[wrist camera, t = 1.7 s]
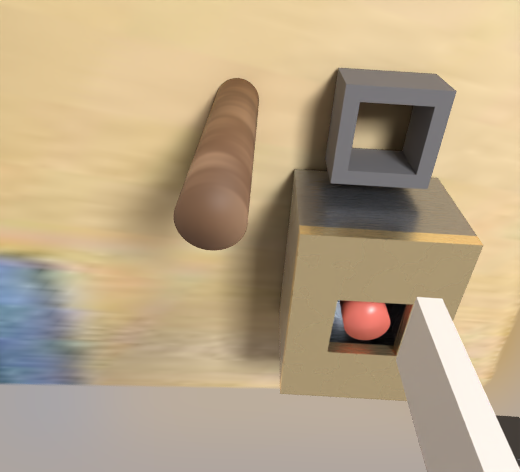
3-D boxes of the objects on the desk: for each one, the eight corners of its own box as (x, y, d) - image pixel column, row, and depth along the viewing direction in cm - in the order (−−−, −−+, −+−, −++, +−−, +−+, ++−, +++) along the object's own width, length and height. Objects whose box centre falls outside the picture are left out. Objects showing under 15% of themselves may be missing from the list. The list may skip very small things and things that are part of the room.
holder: (325, 158, 34) (330, 183, 30) (338, 67, 30) (346, 84, 27) (412, 164, 34) (427, 189, 31) (436, 74, 30) (456, 91, 27)
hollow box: (279, 313, 43) (280, 393, 35) (294, 169, 34) (300, 234, 27) (394, 320, 43) (420, 401, 35) (437, 178, 34) (483, 245, 27)
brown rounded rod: (216, 119, 32) (175, 248, 19) (216, 76, 31) (171, 184, 17) (257, 122, 32) (246, 252, 19) (260, 79, 31) (249, 189, 17)
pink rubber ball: (335, 310, 35) (340, 338, 32) (342, 278, 33) (347, 305, 31) (377, 312, 35) (384, 341, 32) (385, 280, 33) (394, 308, 31)
